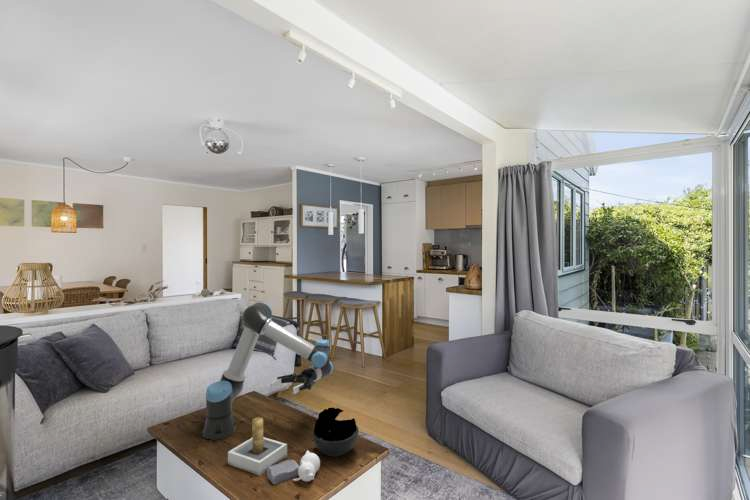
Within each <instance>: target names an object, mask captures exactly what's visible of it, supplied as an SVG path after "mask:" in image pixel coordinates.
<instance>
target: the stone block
mask: <svg viewBox="0 0 750 500" xmlns="http://www.w3.org/2000/svg"><path fill="white" fill-rule="evenodd" d="M299 467H300V464H298V463H297V461H296V460H294V459H287V460H284V461H281V462H278V464H277V463H276V464H275V465H274V466H270V467H268V468H267V471H266V477H267V479H268V480H269V481H270V483H271V484H273V485H277V484H280V483H283V482H286V481H288V480H291V479H294V478H297V477H299V475H298V469H299Z"/></svg>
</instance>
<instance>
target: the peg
mask: <svg viewBox="0 0 750 500" xmlns="http://www.w3.org/2000/svg"><path fill="white" fill-rule="evenodd" d="M251 422H252V423H251V424H252V425H251V426H252V429H251V431H252V432H251V433H252V437H251V438H252V440H253V454H254V455H257V456H258V455H260V454H261V453H263V437H264V418H263V417H258V416H257V417H255V418H253V419H252V421H251Z"/></svg>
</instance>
